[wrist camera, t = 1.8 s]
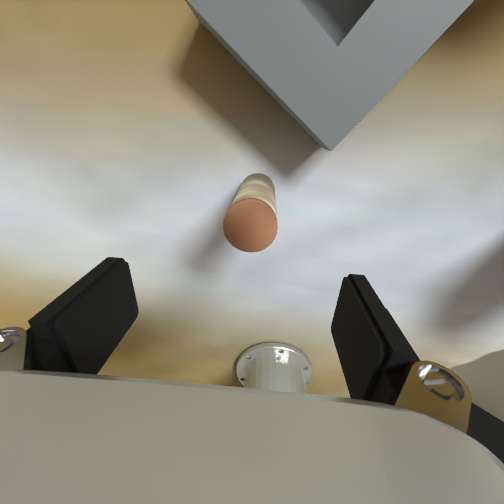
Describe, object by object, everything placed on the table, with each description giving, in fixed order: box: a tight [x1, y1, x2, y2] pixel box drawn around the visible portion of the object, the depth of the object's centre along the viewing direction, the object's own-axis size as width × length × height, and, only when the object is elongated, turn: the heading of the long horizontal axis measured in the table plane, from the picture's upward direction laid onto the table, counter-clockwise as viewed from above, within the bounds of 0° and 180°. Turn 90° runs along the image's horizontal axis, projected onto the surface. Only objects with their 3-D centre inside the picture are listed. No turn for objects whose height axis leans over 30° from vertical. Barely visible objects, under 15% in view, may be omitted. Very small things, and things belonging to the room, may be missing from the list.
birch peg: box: [223, 173, 277, 252], centre depth 23 cm, size 4×4×12 cm
